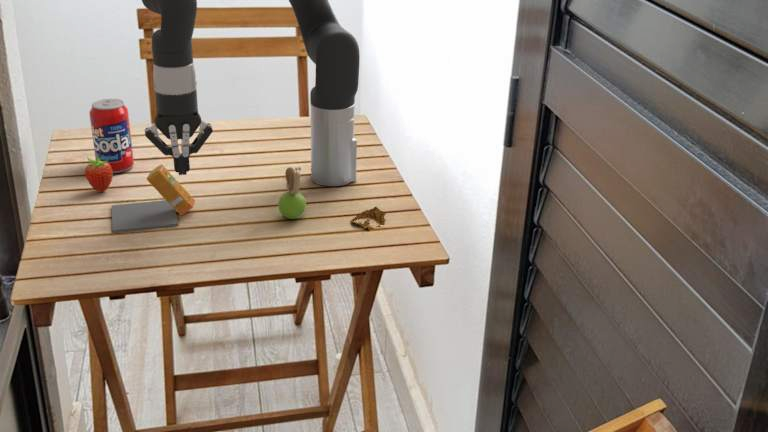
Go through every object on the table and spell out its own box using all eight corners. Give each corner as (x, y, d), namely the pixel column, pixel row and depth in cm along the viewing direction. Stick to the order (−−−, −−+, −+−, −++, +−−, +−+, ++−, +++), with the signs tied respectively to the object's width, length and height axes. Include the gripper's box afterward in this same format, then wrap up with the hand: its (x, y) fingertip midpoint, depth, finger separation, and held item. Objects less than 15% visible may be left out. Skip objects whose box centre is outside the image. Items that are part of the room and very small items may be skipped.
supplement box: (194, 206, 163) (157, 169, 159) (181, 216, 163) (144, 180, 160) (197, 199, 166) (160, 163, 162) (184, 209, 166) (148, 173, 163)
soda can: (133, 159, 188) (126, 96, 181) (135, 173, 181) (128, 107, 174) (96, 163, 186) (87, 98, 179) (97, 177, 179) (88, 110, 172)
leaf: (344, 222, 164) (344, 215, 163) (371, 209, 168) (371, 202, 167) (366, 237, 160) (366, 230, 159) (392, 224, 164) (393, 217, 163)
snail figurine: (286, 227, 160) (284, 170, 155) (274, 214, 166) (272, 158, 160) (312, 222, 163) (311, 165, 157) (300, 209, 168) (299, 153, 162)
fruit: (116, 186, 175) (112, 150, 171) (113, 196, 170) (108, 160, 167) (89, 187, 174) (84, 152, 171) (86, 198, 170) (80, 161, 166)
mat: (173, 201, 169) (173, 199, 169) (178, 225, 160) (177, 223, 160) (112, 207, 166) (111, 205, 166) (112, 232, 157) (112, 230, 156)
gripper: (209, 78, 158) (214, 163, 166) (137, 82, 154) (145, 168, 162) (214, 90, 152) (219, 178, 159) (138, 95, 148) (147, 184, 156)
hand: (182, 173), depth 161 cm, fingers closed
